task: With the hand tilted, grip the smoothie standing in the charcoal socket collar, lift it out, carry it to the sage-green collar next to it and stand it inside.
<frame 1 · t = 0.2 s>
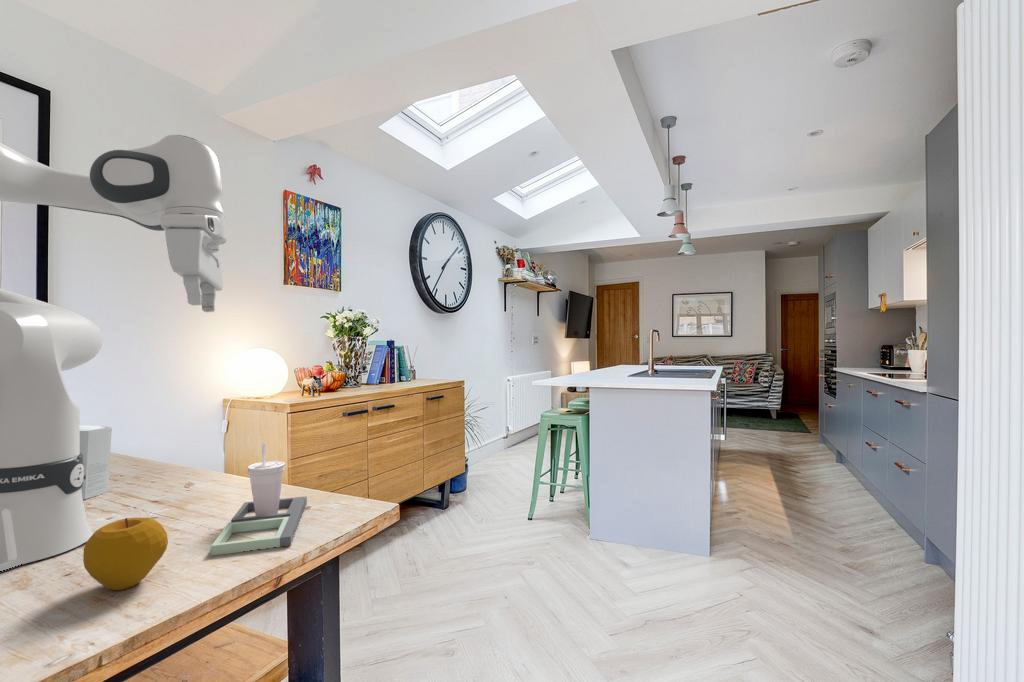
hand: (202, 308, 82), 39 cm above the table, tool pointing down, fingers open, 8 cm apart
apple: (127, 585, 63), on the table
smoothie: (266, 516, 88), resting in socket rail
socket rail: (260, 526, 83), on the table
skincare box: (81, 496, 101), on the table
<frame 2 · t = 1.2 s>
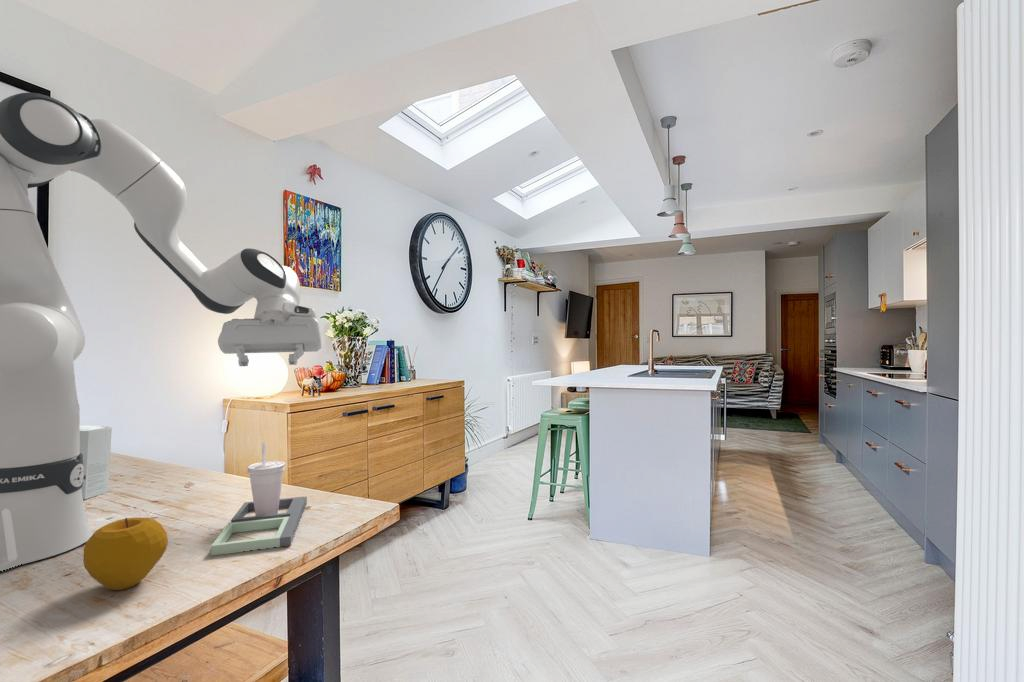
hand: (268, 363, 98), 28 cm above the table, tool tilted 45°, fingers open, 8 cm apart
nothing on the table moved.
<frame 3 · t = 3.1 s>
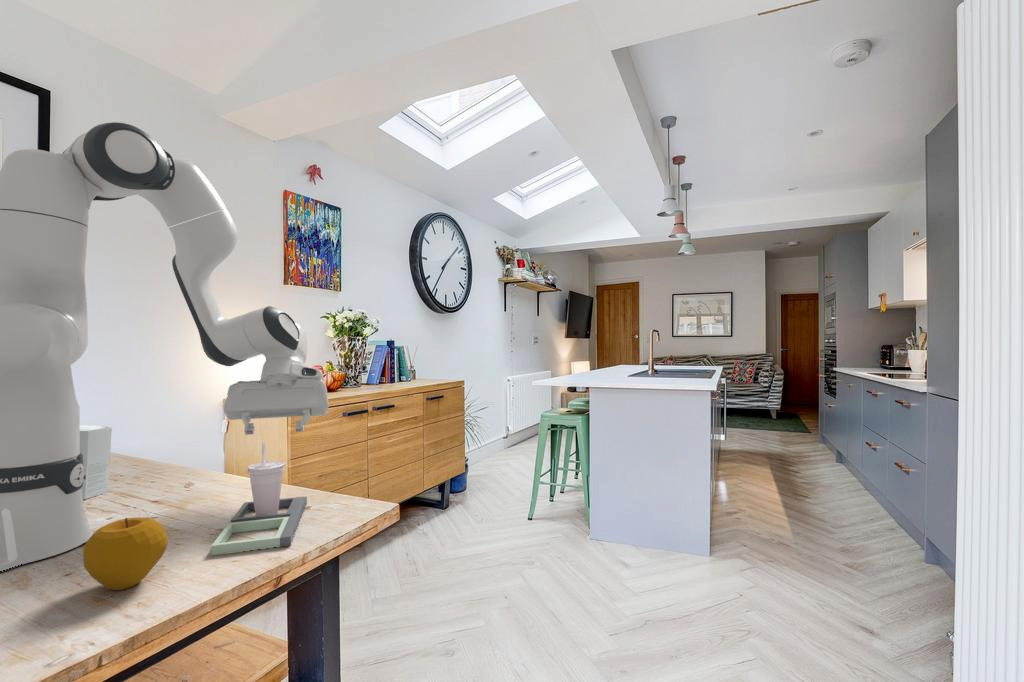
hand: (274, 431, 96), 15 cm above the table, tool tilted 45°, fingers open, 8 cm apart
nothing on the table moved.
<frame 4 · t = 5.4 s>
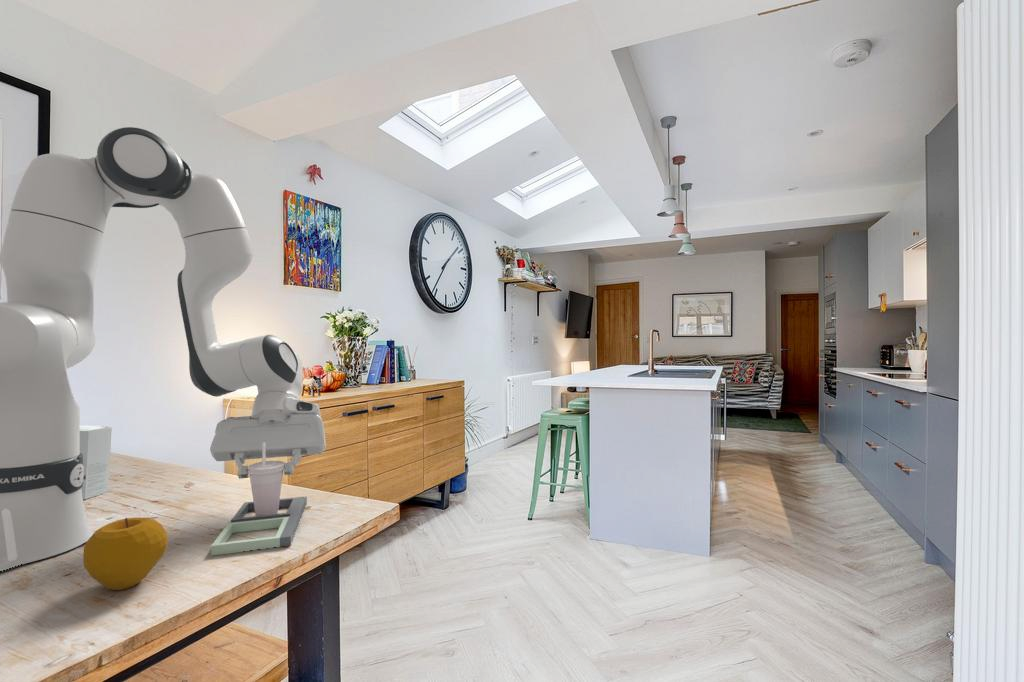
hand: (265, 475, 87), 8 cm above the table, tool tilted 45°, fingers closed on smoothie, 6 cm apart
smoothie: (266, 516, 88), resting in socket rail, touching gripper
everything else where it was.
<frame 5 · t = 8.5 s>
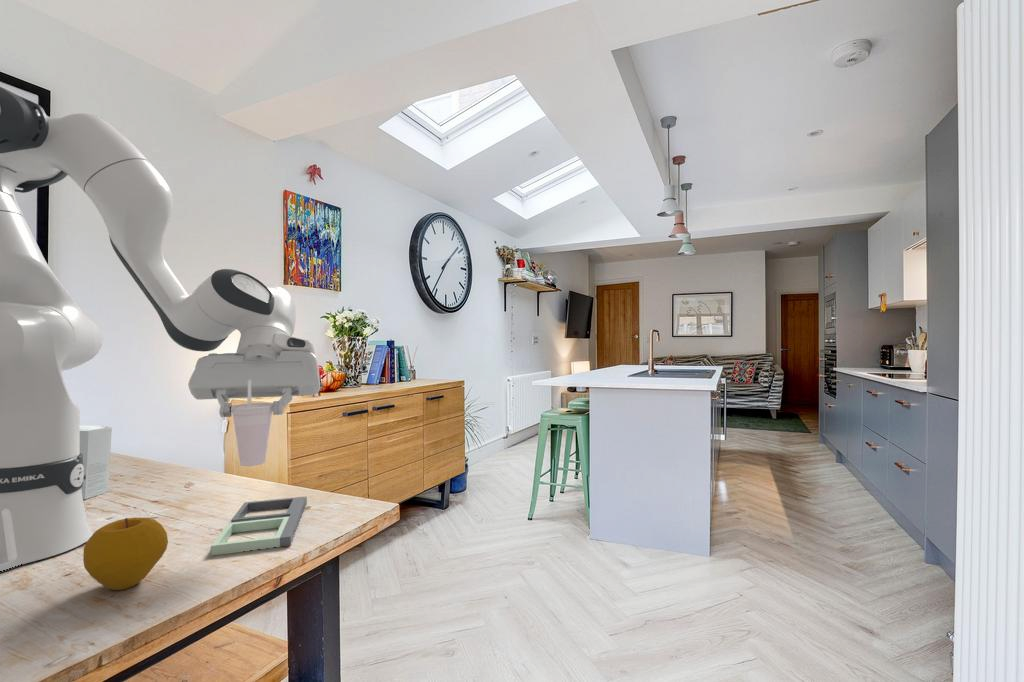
hand: (251, 413, 77), 21 cm above the table, tool tilted 45°, fingers closed on smoothie, 6 cm apart
smoothie: (253, 464, 78), point 12 cm above the table, touching gripper
everything else where it was.
when the fingers open (9 cm above the table, at t = 11.6 s): smoothie stays where it is, resting in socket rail.
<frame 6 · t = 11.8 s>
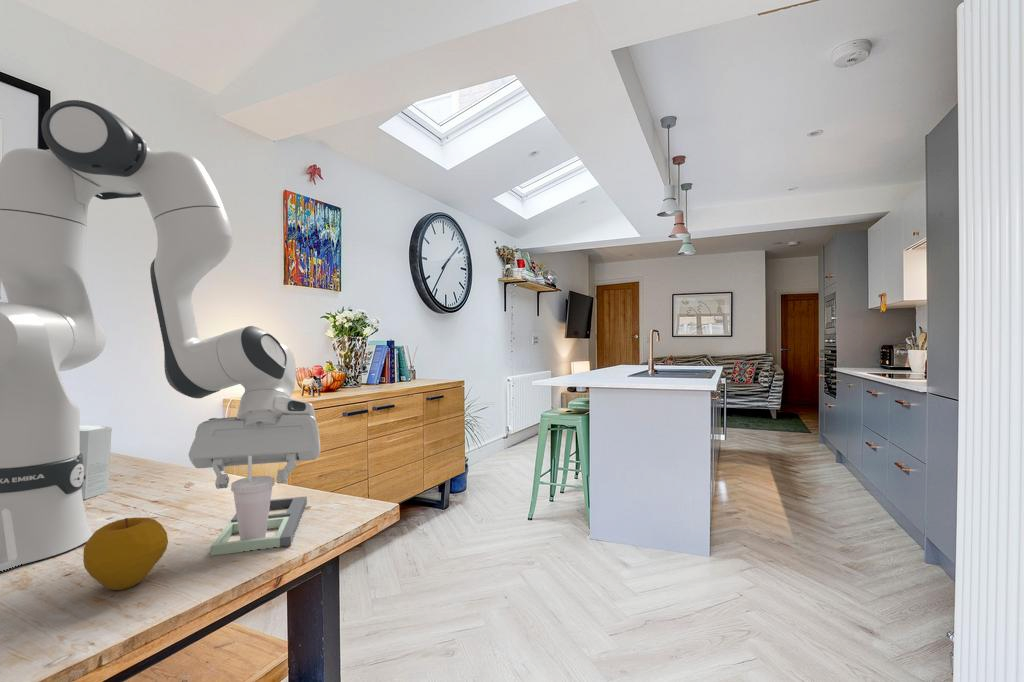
hand: (252, 484, 77), 9 cm above the table, tool tilted 45°, fingers open, 8 cm apart
smoothie: (253, 540, 78), resting in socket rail
everything else where it was.
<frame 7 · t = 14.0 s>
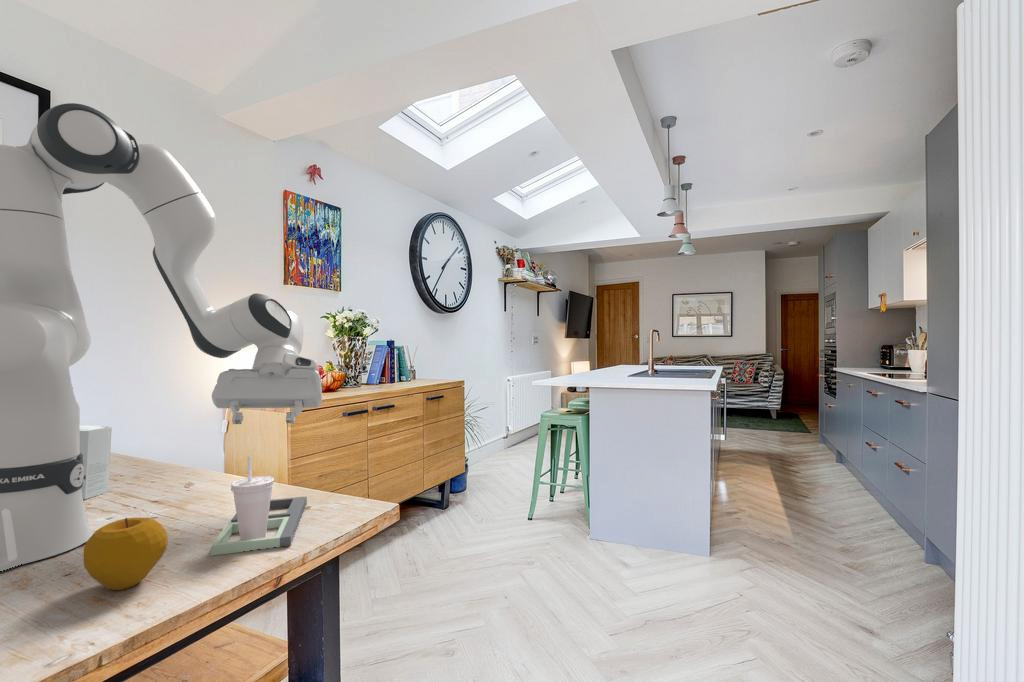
hand: (263, 422, 91), 17 cm above the table, tool tilted 45°, fingers open, 8 cm apart
nothing on the table moved.
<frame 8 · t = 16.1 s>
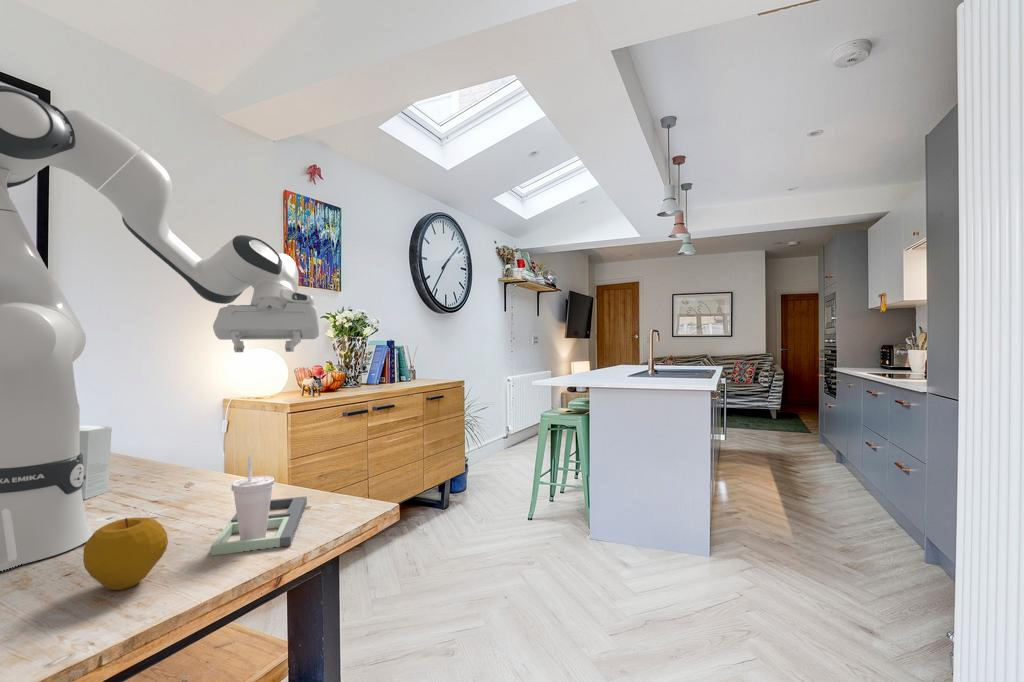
hand: (264, 350, 96), 31 cm above the table, tool tilted 45°, fingers open, 8 cm apart
nothing on the table moved.
at the end: smoothie inside the target area (0.1 cm from its centre), resting in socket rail; smoothie tilted 0°; the gripper is holding nothing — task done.
